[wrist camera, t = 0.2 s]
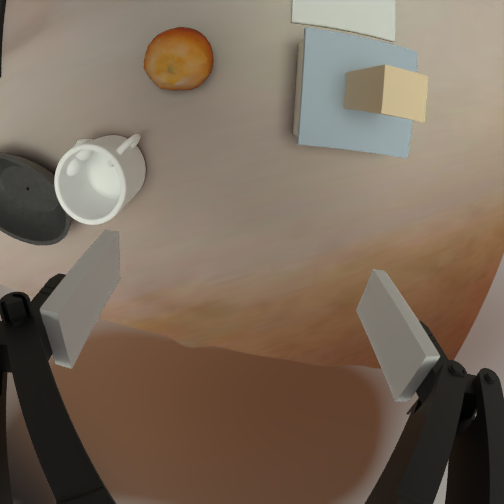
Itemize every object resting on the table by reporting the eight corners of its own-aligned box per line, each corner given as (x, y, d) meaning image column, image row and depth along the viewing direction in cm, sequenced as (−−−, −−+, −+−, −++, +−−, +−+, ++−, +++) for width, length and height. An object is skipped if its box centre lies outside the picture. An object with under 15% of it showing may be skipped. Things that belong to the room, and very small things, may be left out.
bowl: (-5, 131, 36) (-29, 138, 30) (98, 174, 40) (78, 186, 35) (-14, 196, 40) (-36, 209, 35) (80, 244, 45) (62, 263, 40)
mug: (122, 103, 36) (93, 106, 28) (174, 155, 40) (156, 170, 32) (71, 166, 40) (38, 184, 31) (119, 214, 43) (93, 241, 35)
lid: (304, 29, 27) (330, 0, 17) (413, 52, 27) (470, 44, 18) (296, 143, 33) (319, 163, 23) (403, 156, 33) (456, 182, 24)
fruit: (228, 25, 31) (213, 45, 27) (215, 76, 38) (199, 105, 33) (166, 13, 30) (139, 33, 25) (158, 64, 36) (134, 92, 32)
